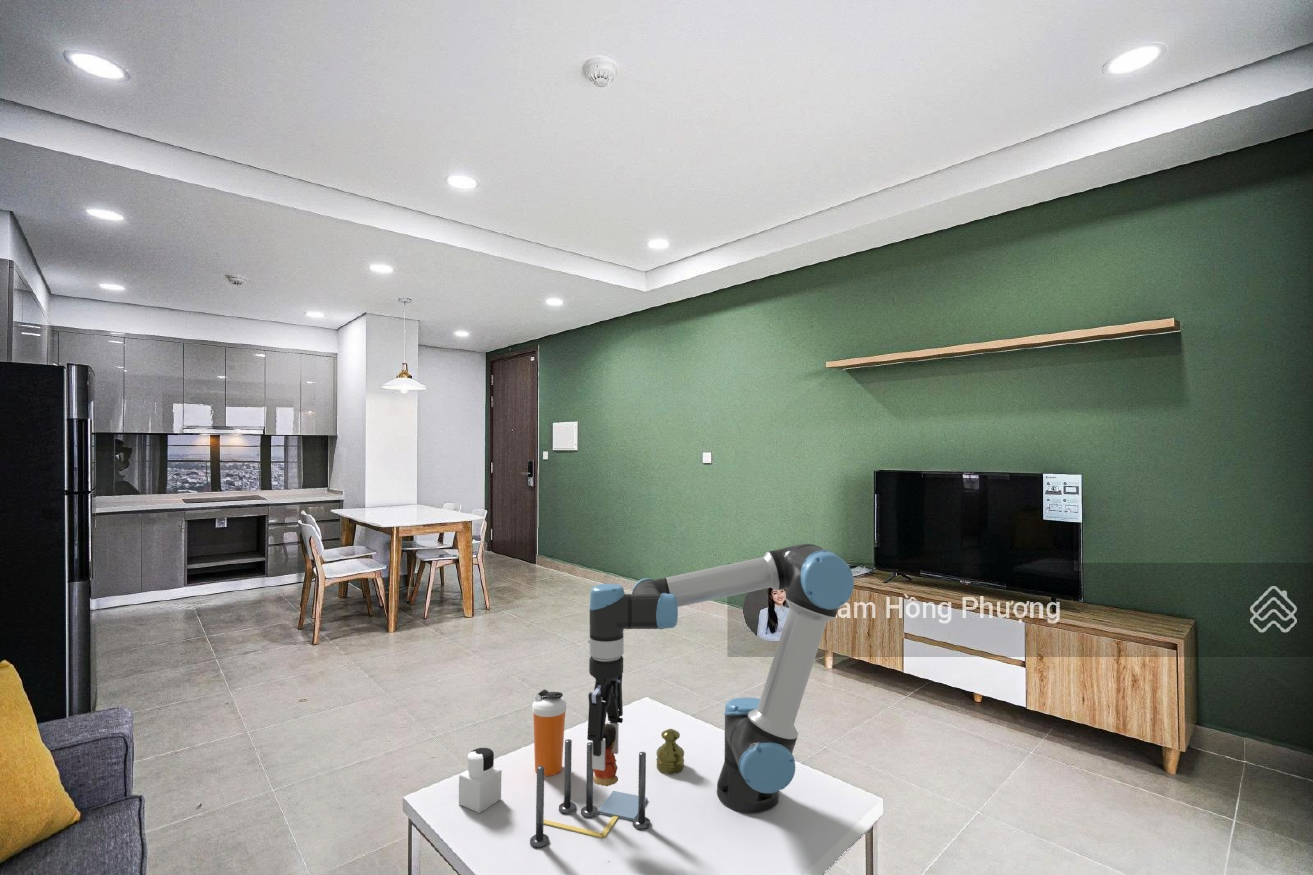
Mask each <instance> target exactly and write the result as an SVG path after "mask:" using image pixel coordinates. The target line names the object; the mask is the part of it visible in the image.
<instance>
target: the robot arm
mask: <svg viewBox="0 0 1313 875" xmlns="http://www.w3.org/2000/svg"><path fill="white" fill-rule="evenodd" d="M854 579H855V578H854V574H853V571H852V569H851V567H850V566H849V564H848V563H847V562H846V561H845V560H844V559H843V558H842V557H841V556H839V555H838V554H836V553H835V552H832V551H829V550H827V549H825V548H823V547H820V546H819V545H816V544H811V543H801V544H795V545H791V546H787V547H786V546H785V547H782V548H779V549H774V550H770V551H766V552H765V554H764V555H763V556H761V557H758V558H757V557H756V558H752V559H748V560H743V561H742V560H741V561H737V562H733V563H729V564H723V565H718V566H715V567H710V568H704V569H700V570H695V571H691V572H686V573H685V572H684V573H681V574H677V575H672V576H667V577H663V578H657V579H653V578H649V577H647V578H640V580H638V581H637V582H636V583H635V584H634V586H633V588H632V593H631V594H629V593H626V592H625V588H624V587H623V585H621V584H617V583H601V584H597V585H594V586H593V587H592V588H591V590H590V592H589V593H590V595H589V638H588V641H587V643H589V655H590V657H589V660H588V661H589V662H588V663H589V664H588V665H589V666H588V667H589V668H588V672H589V675H590V676H592V677H593V678H594V679H595V682H594V688H593V692H591V691H589V692H588V695H587V696H588V718H587V719H588V720H587V721H588V722H587V736H586V737H587V738H586V739H587V740H588V741H590V742H592V769H597V770H602V771H604V770H605V738H603V737H604V729H605V724H611V725H613V726H614V727H615V730H616V739H615V746H614V747H613V749H612V752H613V754H614V755H618V754H619V725H620V724H622V723H623V721H624V718H623V717H622V716H623V714H624V711H623V710H624V709H623V708H624V707H623V686H622V684H623V673H624V656H623V655H624V650H625V649H624V648H625V647H624V644H625V643H624V638H625V637H624V630H664V629H665V630H666V629H673V628H675V627H676V626H677V624H678V619H679V617H678V616H679V608H680V607H684V606H690V605H694V604H699V603H703V602H708V601H714V600H718V599H723V598H728V597H731V596H737V595H741V594H745V593H750V592H757V591H759V590H760V591H761V590H765V589H769V588H771V589H772V590H774V591H777V592H778V591H781V590H787V593H786V596H785V601H786V604H787V605H788V612H787V615H786V618H785V621H784V623H783V627H782V631H781V634H780V636H779V638H778V643H777V647H776V649H775V653H774V655H773V659H772V662H771V665H770V668H769V671H768V674H767V677H766V680H765V683H764V686H763V689H762V692H761V696H760V698H756V697H735V698H732V699H730V700H728V701H727V702H726V703H725V707H724V713H723V715H724V759H723V760H724V762H723V764H722V768H721V771H720V773H719V776H718V779H717V783H716V795H717V798H718V799H719V801H720V802H721V803H722V804H723V805H725V806H726V807H728V809H729V808H730V809H732V810H735V811H737V812H741V813H742V812H743V813H749V814H750V813H751V814H757V813H763V812H767V811H771V810H773V809H774V808H775V807H776V806H777V805H778V803H779V801H780V791H781V790H784V789H786V787H788V786H789V785H790V783H791V782H792V781H793V779H794V776H795V773H796V760H795V757H794V755H793V752H794V749H795V746H796V742H797V741H798V740H797V739H798V737H799V733H798V731H797V728H796V726H795V722H796V718H797V715H798V713H799V709H800V706H801V703H802V700H803V696H804V694H805V690H806V687H807V684H808V681H809V679H810V675H811V672H812V668H813V667H814V666H813V665H814V663H815V659H816V656H817V653H818V651H819V647H820V644H821V641H822V637H823V635H824V631H825V629H826V625H827V623H828V622H830V621H832V620H834V619H836V617H837V614H838V611H839V608H840V607H841V606H843V605H845V604H846V603H847V602H848V601H849V600H850V598H851V597H852V594H853V592H854V587H855V581H854ZM606 721H607V722H606Z"/></svg>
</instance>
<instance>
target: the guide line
mask: <svg viewBox="0 0 1313 875" xmlns="http://www.w3.org/2000/svg"><path fill="white" fill-rule="evenodd" d="M618 819H619V818H618V816H613V817H612V816H611V818H610V820H609V821H608V823H607V824H606V826H605V827H604V829H603V830H602V831H601V832H599V831H594V830H591V829H586V828H582V827H577V826H573V825H571V824H570V825H569V824H564V823H561V822H557V821H551V820H547V819H544V825H545V826H550V827H554V828H557V829H562V830H565V831H569V832H574V833H578V834H583V835H587V836H591V837H595V838H598V839H599V838H600V839H602V838H606V837H607V835H608V834H609V833H610V831H611V830H612V828H613V826H615V823H616V822H617V821H618ZM544 825H543V826H544Z"/></svg>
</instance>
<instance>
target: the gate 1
mask: <svg viewBox="0 0 1313 875" xmlns="http://www.w3.org/2000/svg"><path fill="white" fill-rule="evenodd" d="M572 742H573V740H572V739H570V738H568V739H567V738H566V739H564V768H563V769H564V771H563V772H564V774H563V775H564V776H563V777H564V779H563V787H564V788H563V802H562V803H560V804H559V805H558V812H559V813H560V814H563V815H570V814H573V813H574V812H576V810H577V804H575V803H574V802H573V801H572V751H573V750H572V749H573V748H572V746H573V744H572ZM535 790H536V791H535V792H536V796H535V797H536V798H535V800H536V802H535V803H536V804H535V834H534V835H533V836H531V837H530V839H529V845H530V846H531V848H534V849H542V848H545V847H547V846H548V845H549V842H550V838H549V835H547V834H545V833H544V820H545V819H544V818H545V816H544V811H545V809H544V808H545V805H544V804H545V776H544V766H538V767H537V773H536V789H535Z"/></svg>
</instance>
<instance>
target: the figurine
mask: <svg viewBox="0 0 1313 875" xmlns="http://www.w3.org/2000/svg"><path fill="white" fill-rule="evenodd" d="M603 738H605V770H604V771H602V770H597V769H593V784H596V785H598V786H599V785H600V786H601V787H602V786H603V787H609V786H613V785H615V784H617V782H618V781H619V778H618V776H617V770H618V765H617V763H616V762H617V759H616V756H615V754H613V752H612V749H613V747H614V746H615V739H616V730H615V727H614V726H613V725H611V724H606V723H605V729H604V737H603Z"/></svg>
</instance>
